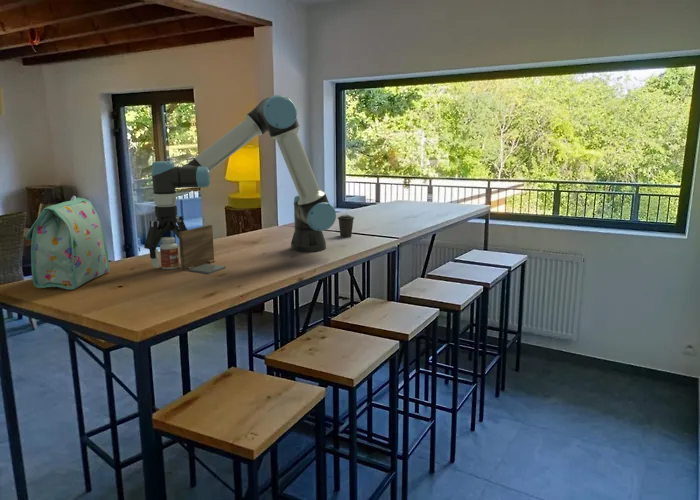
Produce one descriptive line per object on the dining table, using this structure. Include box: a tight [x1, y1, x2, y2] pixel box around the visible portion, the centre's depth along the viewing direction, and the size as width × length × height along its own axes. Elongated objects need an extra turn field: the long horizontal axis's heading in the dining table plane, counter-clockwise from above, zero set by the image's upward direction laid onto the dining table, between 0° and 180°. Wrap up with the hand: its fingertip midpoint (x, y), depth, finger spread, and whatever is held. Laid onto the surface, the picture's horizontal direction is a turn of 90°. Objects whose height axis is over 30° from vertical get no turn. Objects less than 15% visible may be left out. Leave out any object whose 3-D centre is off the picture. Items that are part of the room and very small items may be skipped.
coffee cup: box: [337, 214, 355, 238], centre depth 244 cm, size 8×8×10 cm
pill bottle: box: [159, 236, 180, 270], centre depth 185 cm, size 6×6×11 cm
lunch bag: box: [25, 197, 111, 290], centre depth 166 cm, size 23×16×27 cm
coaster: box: [188, 263, 226, 275], centre depth 184 cm, size 9×9×1 cm
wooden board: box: [178, 224, 216, 271], centre depth 188 cm, size 4×16×14 cm, turn 155°
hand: (170, 262), depth 186 cm, fingers open, 13 cm apart
